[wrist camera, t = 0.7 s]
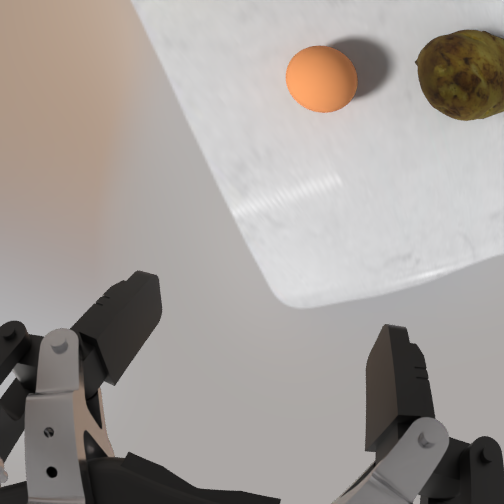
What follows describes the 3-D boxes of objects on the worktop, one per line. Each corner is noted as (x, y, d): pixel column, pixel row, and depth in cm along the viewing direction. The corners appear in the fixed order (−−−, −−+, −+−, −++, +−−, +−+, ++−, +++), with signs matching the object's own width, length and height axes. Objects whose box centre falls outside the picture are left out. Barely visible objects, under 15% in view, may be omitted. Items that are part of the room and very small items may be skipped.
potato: (516, 132, 18) (563, 152, 12) (402, 108, 21) (430, 116, 15) (515, 53, 14) (563, 51, 8) (398, 21, 17) (423, -4, 11)
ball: (293, 47, 21) (284, 36, 17) (357, 56, 20) (364, 47, 16) (287, 105, 24) (277, 109, 19) (350, 115, 23) (355, 121, 18)
